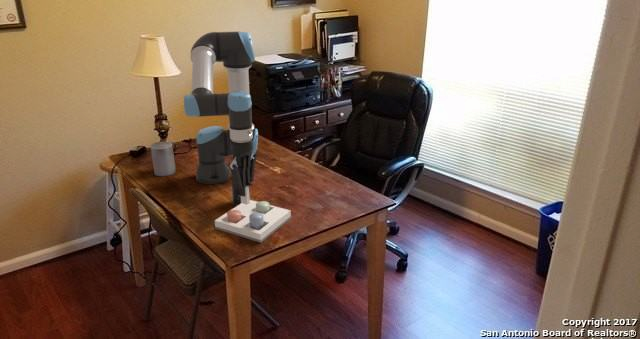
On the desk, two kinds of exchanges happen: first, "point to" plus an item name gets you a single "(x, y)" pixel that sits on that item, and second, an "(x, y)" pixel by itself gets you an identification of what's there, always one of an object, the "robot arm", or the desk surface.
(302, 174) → the desk surface
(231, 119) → the robot arm
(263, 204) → the sage button
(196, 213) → the desk surface
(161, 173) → the pillar candle
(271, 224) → the console
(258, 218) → the slate button
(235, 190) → the supplement bottle
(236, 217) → the terracotta button
